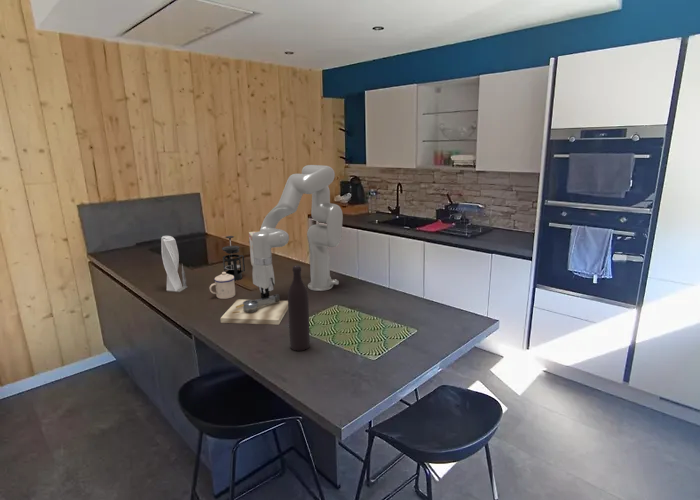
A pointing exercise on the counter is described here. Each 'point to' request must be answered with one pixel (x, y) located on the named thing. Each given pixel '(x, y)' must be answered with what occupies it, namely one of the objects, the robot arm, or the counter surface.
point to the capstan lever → (258, 302)
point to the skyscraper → (172, 264)
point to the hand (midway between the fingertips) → (265, 300)
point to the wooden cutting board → (256, 313)
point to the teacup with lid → (224, 286)
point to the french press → (233, 268)
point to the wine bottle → (298, 312)
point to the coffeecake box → (251, 246)
